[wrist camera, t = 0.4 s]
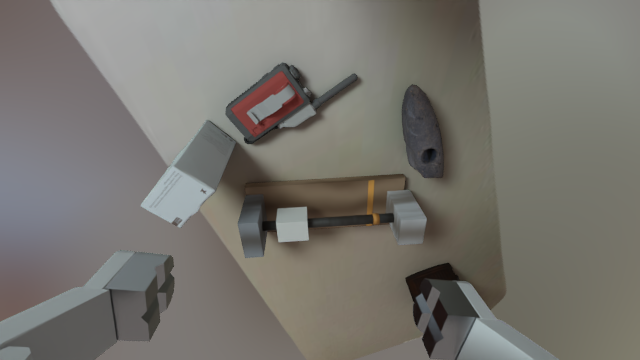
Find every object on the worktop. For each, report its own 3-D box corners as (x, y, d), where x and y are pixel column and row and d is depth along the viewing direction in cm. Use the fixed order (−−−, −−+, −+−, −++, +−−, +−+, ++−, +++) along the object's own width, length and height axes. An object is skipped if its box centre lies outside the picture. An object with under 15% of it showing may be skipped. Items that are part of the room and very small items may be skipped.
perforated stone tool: (391, 85, 46) (405, 97, 40) (425, 75, 46) (444, 85, 40) (404, 168, 54) (418, 188, 48) (434, 159, 53) (451, 179, 47)
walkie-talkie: (257, 150, 51) (359, 79, 46) (253, 162, 47) (364, 86, 42) (220, 108, 47) (327, 26, 42) (212, 117, 43) (329, 28, 38)
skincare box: (207, 118, 47) (172, 160, 34) (239, 142, 49) (217, 190, 36) (178, 154, 50) (135, 206, 37) (209, 176, 52) (179, 231, 39)
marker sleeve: (277, 208, 51) (275, 223, 48) (306, 206, 51) (307, 221, 48) (279, 227, 53) (278, 242, 50) (308, 225, 53) (308, 240, 50)
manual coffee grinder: (461, 288, 70) (507, 368, 55) (416, 304, 72) (448, 385, 57) (446, 244, 63) (493, 322, 48) (396, 263, 65) (426, 343, 49)
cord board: (245, 183, 53) (235, 217, 44) (408, 173, 54) (429, 205, 45) (254, 228, 58) (246, 266, 49) (402, 218, 59) (420, 254, 50)
